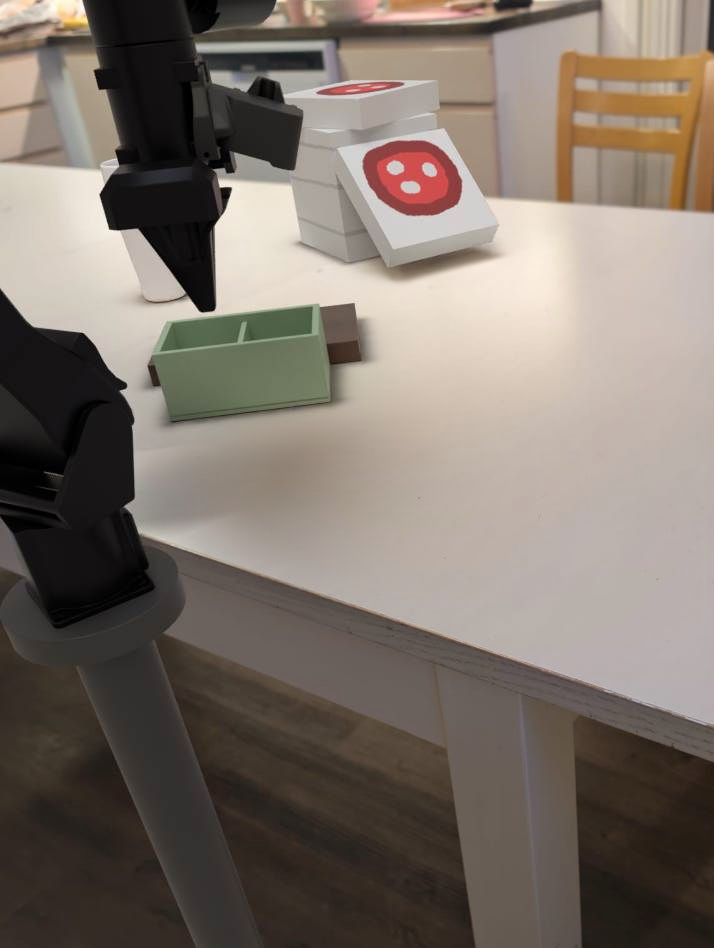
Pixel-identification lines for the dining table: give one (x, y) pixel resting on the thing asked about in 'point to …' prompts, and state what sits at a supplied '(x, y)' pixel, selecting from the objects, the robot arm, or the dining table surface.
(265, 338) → the cutlery holder
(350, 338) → the bread board
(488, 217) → the pizza boxes
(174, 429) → the dining table surface
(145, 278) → the drinking glass
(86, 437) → the robot arm
